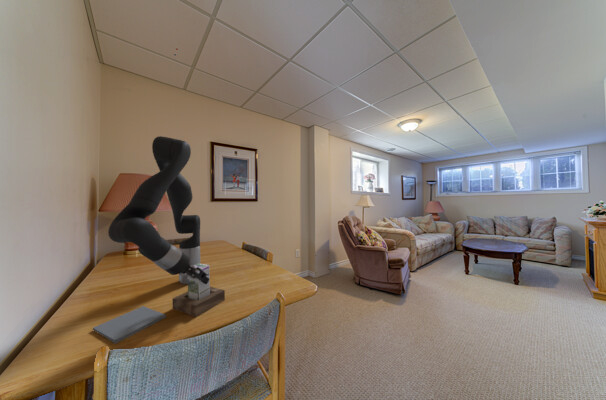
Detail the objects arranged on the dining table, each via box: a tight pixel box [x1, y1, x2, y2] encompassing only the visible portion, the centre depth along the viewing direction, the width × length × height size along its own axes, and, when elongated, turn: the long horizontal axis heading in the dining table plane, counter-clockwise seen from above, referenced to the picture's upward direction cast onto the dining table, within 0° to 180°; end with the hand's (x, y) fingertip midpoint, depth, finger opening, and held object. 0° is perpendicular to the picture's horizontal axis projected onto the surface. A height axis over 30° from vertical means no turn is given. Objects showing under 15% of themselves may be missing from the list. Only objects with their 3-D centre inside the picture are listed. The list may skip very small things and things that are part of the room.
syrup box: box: [187, 263, 211, 301], centre depth 79 cm, size 6×6×14 cm
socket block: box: [172, 286, 226, 318], centre depth 79 cm, size 13×13×4 cm
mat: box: [92, 305, 167, 345], centre depth 67 cm, size 14×14×1 cm
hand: (201, 280), depth 80 cm, fingers closed on syrup box, 6 cm apart
